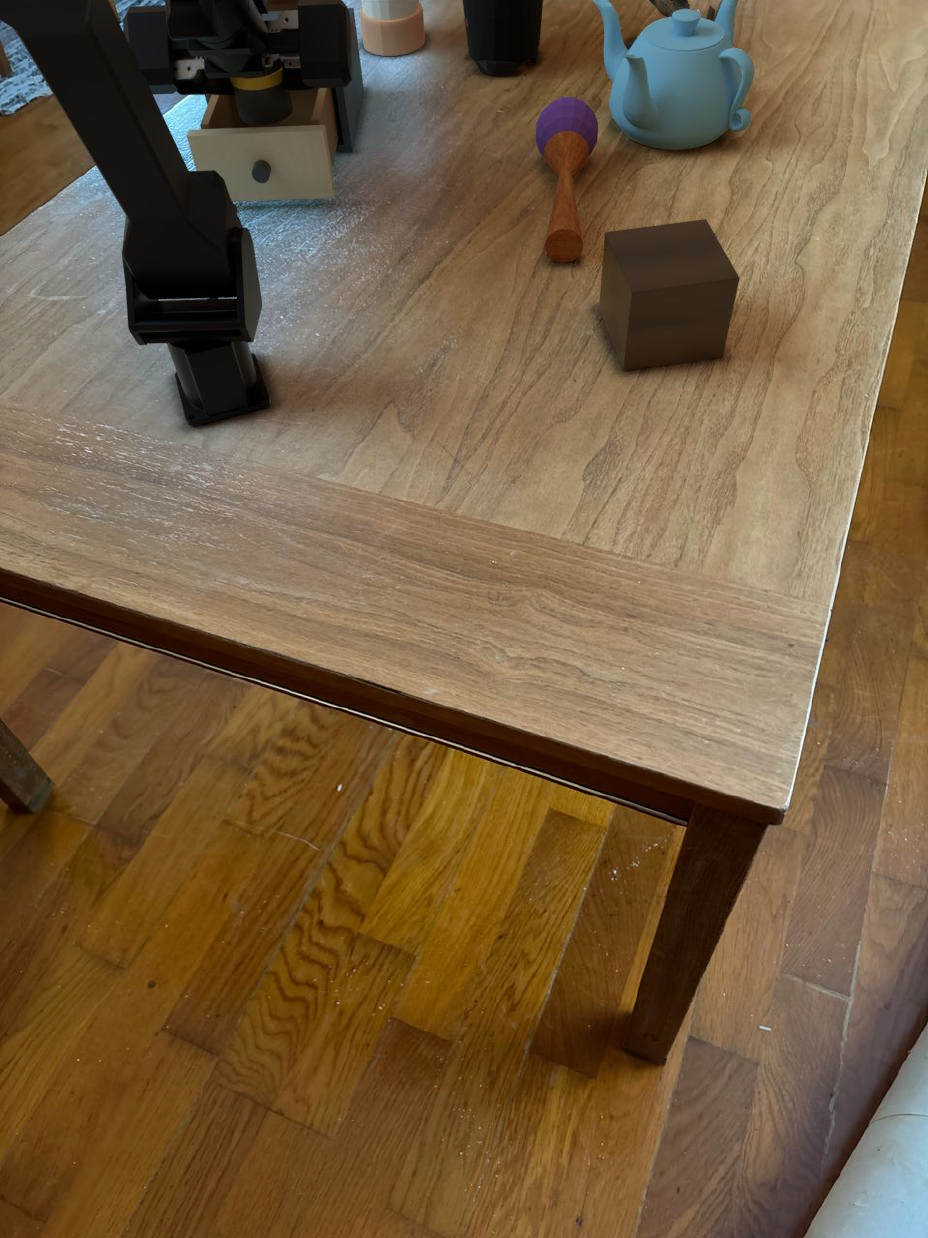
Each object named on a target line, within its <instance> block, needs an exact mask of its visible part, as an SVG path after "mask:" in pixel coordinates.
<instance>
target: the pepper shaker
mask: <svg viewBox="0 0 928 1238" xmlns="http://www.w3.org/2000/svg"><path fill="white" fill-rule="evenodd" d="M360 1H361V8H360V10H359V21H360V29H361V38H362V45H363V48H364V49H365V51H367V52H368V53H370V54H373V55H377V56H381V57H382V56H383V57H396V56H403V55H407V54H411V53H413V52H416V51H418V50H419V49H421V48H422V47H423V46H424V44H425V42H426V35H425V34H426V33H425V21H424V20H425V19H424V9H423V6H422V4H421V3H420V0H360Z"/></svg>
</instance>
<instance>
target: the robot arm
mask: <svg viewBox="0 0 928 1238" xmlns="http://www.w3.org/2000/svg"><path fill="white" fill-rule="evenodd" d="M163 2H164V4H163V5H162V4H161V5H139V6H138V5H137V6H130V7H129V8H128V10H127V12H126V13H125V15H124V17H123V19H122V26H123V27H122V26H121V24H120V22H119V19H118V17H117V15H116V13H115V11H114V9H113V7H112V5H111V3H110V0H0V21H1V22H2V23H4V24H6V25H7V26H9V27H11V28H12V29H13V31H14V32H15V33H16V35H17V36H18V38H19V40H20V41H21V44H22V45H23V46H24V48H25V50H26V52H27V53H28V55H29V57H30V58H31V60H32V61H33V63H34V64H35V66H36V68H37V70H38V72H39V73H40V75H41V77H42V78H43V79H44V81H45V83H46V85H47V86H48V88H49V90H50V91H51V93H52V95H53V97H54V99H55V100H56V101H57V104H58V105H59V107H60V108H61V110H62V111H63V113H64V115H65V116H66V118H67V120H68V121H69V123H70V125H71V126H72V128H73V131H75V133H76V135H77V136H78V138H79V140H80V142H81V143H82V144H83V146H84V148H85V150H86V152H87V153H88V155H89V156H90V159H91V160H92V161H93V163H94V165H95V166H96V169H97V170H98V172H99V173H100V175H101V177H102V178H103V180H104V181H105V183H106V185H107V186H108V188H109V190H110V192H111V193H112V195H113V197H114V199H115V200H116V202H117V203H118V205H119V207H120V208H121V210H122V211H123V213H124V215H125V220H124V222H125V223H124V230H123V240H122V248H121V260H122V268H123V276H124V285H125V297H126V314H127V315H126V317H127V328H128V331H129V333H130V334H131V336H132V337H133V339H134V340H135V343H137V344H138V346H148V345H153V344H157V345H158V344H166V346H167V349H168V352H169V354H170V357H171V360H172V363H173V365H174V368H175V373H174V376H175V381H176V385H177V389H178V394H179V397H180V402H181V406H182V410H183V414H184V419H185V422H186V424H187V426H191V427H194V426H198V425H202V424H207V423H210V422H214V421H218V420H223V419H227V418H230V417H234V416H237V415H241V414H245V413H249V412H254V411H258V410H261V409H265V408H268V407H269V406H271V403H272V401H271V398H270V395H269V391H268V389H267V386H266V383H265V380H264V378H263V377H264V376H263V374H262V371H261V368H260V365H259V361H258V359H257V355H256V354H255V353H253V352H251V349H250V346H249V343H254V341H255V337H256V333H257V329H258V325H259V322H260V318H261V313H262V310H263V300H262V294H261V293H262V292H261V283H260V278H259V271H258V266H257V258H256V253H255V245H254V240H253V237H252V235H251V231H250V230H249V228H248V227H245V226H244V227H243V223H242V220H241V219H240V217H239V216H238V211H239V210H238V207H237V206H236V204H235V203H234V202H232V200H231V198H230V195H229V192H228V190H227V187H226V184H225V181H224V179H223V178H222V177H221V176H220V175H219V174H218V173H217V172H216V171H215V170H206V171H196V170H189V168H188V165H187V164H186V163H185V160H184V158H183V156H182V154H181V152H180V149H179V147H178V145H177V143H176V141H175V139H174V137H173V134H172V132H171V130H170V128H169V126H168V124H167V122H166V120H165V118H164V115H163V113H162V111H161V109H160V107H159V105H158V102H157V100H156V98H155V96H154V95H173V94H175V93H177V94H178V95H180V96H205V95H234V91H233V86H232V84H231V82H230V78H235V77H261V76H265V67H272V66H273V56H272V54H279V58H280V60H281V62H282V78H283V91H285V92H288V93H297V92H300V91H306V90H313V89H315V88H336V87H347V85H348V84H349V83H350V82H351V81H352V57H351V26H350V14H349V11H348V8H349V7H348V5H347V4H346V3H345V2H344V1H343V0H298V3H297V9H296V10H295V9H294V11H292V10H282V11H283V12H282V13H281V14H280V15H279V17H278V19H277V20H267V21H264V20H263V14H268V11H269V0H163ZM272 31H273V32H272ZM277 31H278V32H277ZM268 55H269V56H268Z"/></svg>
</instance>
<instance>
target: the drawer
mask: <svg viewBox="0 0 928 1238" xmlns="http://www.w3.org/2000/svg"><path fill="white" fill-rule="evenodd" d="M290 96H291V102H292V107H293V110H292V113H291V114H290V116H288V117H287V118H286V119H284V120H282V121H280V122H277V123H273V124H268V125H253V124H249V123H246V122H244V121H243V120H242V119H241V118H240V116H239V112H238V108H237V104H236V99H235V95H211V98H210V100H209V103H208V105H207V104H206V105H207V106H206V108H205V111H204V113H203V116H202V119H201V121H200V124H199V126H200V129H199V128H197V129H189V130H188V132H187V134H186V140H187V143H188V146H189V147H188V148H189V150H190V153H191V157H192V160H193V164H194V167H195V171H206V170H215V171H216V172H217V173H218V174H219V175H220V176H221V177H222V178H223V179H224V181H225V184H226V187H227V190H228V192H229V195H230V198H231V200H232V202H233V203H239V202H241V203H242V202H270V201H298V200H330V199H333V200H334V199H335V198H336V195H337V194H336V193H337V189H336V184H335V178H334V171H333V166H334V162H335V157H336V153H335V152H336V147H337V142H338V137H339V132H340V127H339V120H338V113H337V106H336V100H335V93H334V88H315V89H313V90H306V91H300V92H297V93H290Z"/></svg>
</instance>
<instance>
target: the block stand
mask: <svg viewBox="0 0 928 1238" xmlns="http://www.w3.org/2000/svg"><path fill="white" fill-rule="evenodd" d="M603 240H604V241H603V252H602V265H601V276H600V277H601V278H600V290H599V301H598V312H599V315H600V317H601V319H602V322H603V324H604V326H605V329H606V333H607V334H608V336H609V339H610V342H611V345H612V347H613V349H614V351H615V355H616V357H617V359H618V361H619V364H620V366H621V369H622V371H623V372H624V371H632V370H640V369H645V368H654V367H660V366H661V367H662V366H668V365H676V364H682V363H689V362H690V363H691V362H698V361H705V360H711V359H719V358H723V357H724V353H725V349H726V344H727V339H728V334H729V330H730V326H731V321H732V317H733V311H734V308H735V302H736V299H737V294H738V286H739V283H740V279H741V277H740V276H739V274H738V272H737V270H736V269H735V267H734V265H733V263H732V262H731V260H730V258H729V257H728V255H727V253H726V251H725V250H724V247H723V245H721V243H720V241H719V239H718V237H717V236H716V233H715V232H714V230H713V229H712V227H711V225H710V223H709V222H708V220H707V219H706V218H703V219H696V220H687V221H681V222H674V223H673V222H672V223H665V224H658V225H650V226H649V225H648V226H642V227H633V228H627V229H626V228H625V229H619V230H618V229H617V230H612V231H605V232H604V239H603Z"/></svg>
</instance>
